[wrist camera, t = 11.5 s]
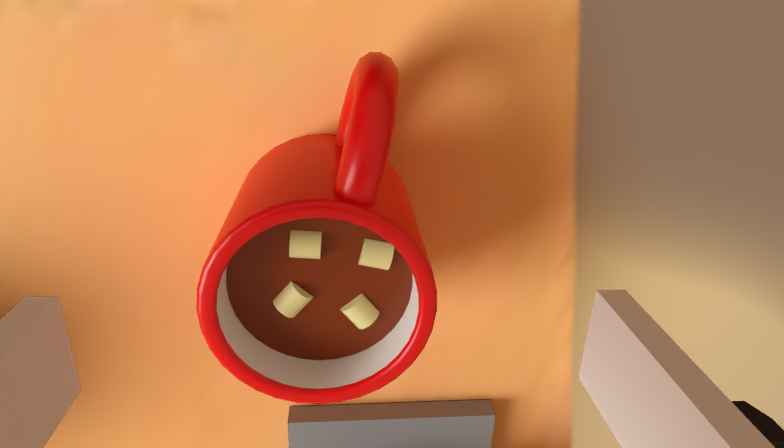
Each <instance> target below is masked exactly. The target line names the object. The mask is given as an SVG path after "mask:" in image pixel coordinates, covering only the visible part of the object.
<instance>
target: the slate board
mask: <svg viewBox="0 0 784 448" xmlns="http://www.w3.org/2000/svg"><path fill="white" fill-rule="evenodd" d="M495 416H496V415H495V412H494V409H493V407H492V404H491V401H490V399H488V400H460V401H432V402H404V403H376V404H348V405H321V406H293V407H290V408H289V417H288V437H289V448H491V443H492V436H493V429H494V422H495Z"/></svg>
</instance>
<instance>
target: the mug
mask: <svg viewBox="0 0 784 448" xmlns="http://www.w3.org/2000/svg"><path fill="white" fill-rule="evenodd" d="M397 102H398V70H397V68H396V66H395V64H394V63H393V61H392V59H391V58H390V57H388V56H386V55H384V54H383V53H381V52H370V53H368V54H366V55H365V56H363V57H362V58H360V59H359V61H358V63H357V65H356V67H355V69H354V71H353V73H352V76H351V79H350V83H349V86H348V89H347V93H346V97H345V101H344V104H343V108H342V112H341V117H340V121H339V125H338V129H337V134H336V135H328V134H321V135H307V136H303V137H299V138H295V139H291V140H289V141H287V142H285V143H283V144H281V145H279V146H276V147H275V148H273V149H272V150H271V151H269V152H268V153H267V154H265V155H264V156H263V157H261V159H260V160H259V161H258V162H257V163H256V164H255V165H254V167H253V168H252V169H251V170H250V172H249V174H248V175H247V177H246V179H245V181H244V183H243V185H242V187H241V189H240V191H239V193H238V195H237V197H236V199H235V201H234V203H233V206H232V208H231V210H230V212H229V214H228V216H227V218H226V220H225V222H224V224H223V226H222V228H221V231H220V233H219V235H218V237H217V239H216V241H215V243H214V245H213V247H212V249H211V251H210V253H209V256H208V258H207V260H206V262H205V264H204V266H203V268H202V272H201V276H200V279H199V283H198V287H197V314H198V318H199V323H200V328H201V331H202V333H203V335H204V338H205V340H206V342H207V344H208V346H209V348H210V350H211V351H212V352H213V354H214V355H215V356H216V358H217V359H218V360H219V362H220V363H221V364H222V366H224V367H225V368H226V369H227V370H228V371H229V372H230V373H232V374H233V375H234V376H235V377H236V378H237V379H238V380H240V381H242V382H243V383H245V384H247V385H248V386H250V387H252V388H253V389H255V390H257V391H260V392H262V393H265V394H267V395H270V396H272V397H275V398H279V399H283V400H288V401H292V402H296V403H312V404H323V403H334V402H342V401H346V400H350V399H354V398H358V397H361V396H364V395H366V394H368V393H371V392H373V391H375V390H378V389H380V388H382V387H383V386H385V385H386V384H388V383H389V382H391V381H393V380H394V379H396V378H397V377H398V376H399V375H401V374H402V373H403V372H404V371H405V370H406V369H407V368H408V367H409V366H410V365H412V363H413V362H414V361H415V359H416V358H417V357H418V355H419V354H420V353H421V351H422V350H423V348H424V347H425V345H426V343H427V340H428V338H429V336H430V334H431V332H432V329H433V325H434V320H435V316H436V312H437V289H436V284H435V280H434V276H433V271H432V268H431V265H430V262H429V259H428V256H427V253H426V250H425V247H424V244H423V241H422V238H421V235H420V232H419V229H418V226H417V222H416V219H415V216H414V213H413V210H412V207H411V204H410V201H409V198H408V195H407V192H406V189H405V187H404V185H403V183H402V181H401V179H400V177H399V175H398V174H397V172H396V171H395V170H394V168H393V167H392V166H391V164H390V163H389V162H388V157H389V152H390V147H391V142H392V137H393V131H394V126H395V119H396V111H397Z"/></svg>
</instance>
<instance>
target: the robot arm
mask: <svg viewBox="0 0 784 448" xmlns="http://www.w3.org/2000/svg"><path fill="white" fill-rule="evenodd" d="M579 379H580V380H581V382H582V384H583V385H584V387H585V389H586V390H587V392H588V394H589V395H590V397H591V398H592V400H593V402H594V403H595V405H596V407H597V408H598V410H599V412H600V413H601V415H602V417H603V418H604V420H605V421H606V423H607V425H608V426H609V428H610V430H611V431H612V433H613V434H614V436H615V438H616V439H617V441H618V443H619V444H620V446H621V447H622V448H784V430H783V429H782V428H781V427H780V426H779V425H778V424H777V423H776V422H775V421H774V420H773V419H772V418H770V417H769V416H767V415H765V414H764V413H762V412H761V411H759V410H758V409H756V408H755V407H753V406H751V405H750V404H748V403H747V402H745V401H730V400H729V399H728V398H727V397H726V396H725V395H724V393H723V392H722V391H721V390H719V388H718V387H717V386H716V385H715V384H714V383H713V382H712V381H711V380H710V379H709V378H708V377H707V375H706V374H705V373H704V372H703V371H702V370H701V369H700V368H699V367H698V366H697V365H696V364H695V363H694V362H693V361H692V360H691V359H690V358H689V357H688V355H687V354H686V353H685V352H684V351H683V350H682V349H681V348H680V347H679V346H678V345H677V344H676V343H675V342H674V341H673V340H672V339H671V337H670V336H669V335H668V334H667V333H666V332H665V331H664V330H663V329H662V328H661V327H660V326H659V325H658V324H657V323H656V322H655V321H654V320H653V319H652V317H651V316H650V315H649V314H648V313H647V312H646V311H645V310H644V309H643V308H642V307H641V306H640V305H639V304H638V303H637V302H636V301H635V300H634V298H633V297H632V296H631V295H630V294H629V293H628V292H627V291H626V290H597V291H596V296H595V300H594V305H593V310H592V315H591V320H590V325H589V329H588V334H587V339H586V344H585V348H584V353H583V358H582V363H581V368H580V372H579ZM80 391H81V387H80V383H79V379H78V375H77V370H76V366H75V362H74V358H73V353H72V349H71V345H70V341H69V337H68V332H67V328H66V324H65V320H64V316H63V311H62V307H61V303H60V299H59V296H42V297H24V298H23V299H22V300H20V301H19V302H18V303H17V304H16V305H15V306H14V307H13V308H12V309H11V310H10V311H9V312H8V313H7V314H6V315H5V316H4V317H3V318H2V319H0V448H43V447H44V446H45V444H46V443H47V441H48V440H49V438H50V437H51V435H52V434H53V432H54V431H55V429H56V428H57V426H58V424H59V423H60V421H61V420H62V418H63V417H64V415H65V414H66V412H67V411H68V409H69V408H70V406H71V405H72V403H73V402H74V400H75V399H76V397H77V396H78V394H79V393H80Z"/></svg>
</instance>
